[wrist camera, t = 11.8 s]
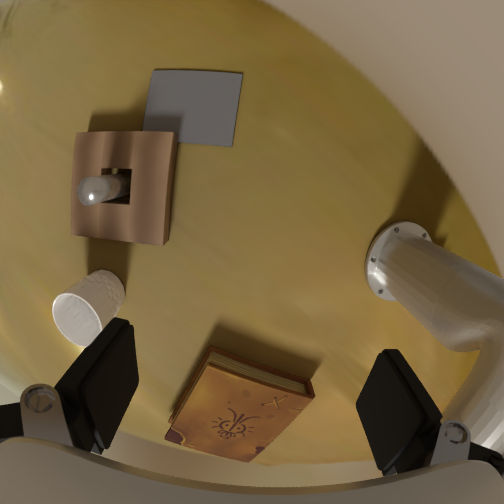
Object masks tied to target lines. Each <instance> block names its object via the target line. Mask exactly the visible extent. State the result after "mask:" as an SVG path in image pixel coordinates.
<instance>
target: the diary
mask: <svg viewBox="0 0 504 504" xmlns="http://www.w3.org/2000/svg"><path fill="white" fill-rule="evenodd" d="M314 397H315V393H314V390H313V387H312V383H311V381H310V380H309V379H305V378H302V377H299V376H296V375H292V374H289V373H286V372H283V371H280V370H277V369H274V368H271V367H268V366H265V365H262V364H259V363H257V362H254V361H251V360H248V359H245V358H243V357H240V356H237V355H235V354H232V353H230V352H227V351H224V350H222V349H219V348H217V347H214V346H212V345H210V347H209V349H208V351H207V352H206V354H205V356H204V358H203V360H202V361H201V363H200V365H199V367H198V369H197V371H196V372H195V374H194V376H193V378H192V380H191V381H190V383H189V385H188V387H187V389H186V391H185V392H184V394H183V396H182V398H181V400H180V401H179V403H178V405H177V407H176V409H175V410H174V412H173V414H172V416H171V418H170V419H169V423H171V427H170V429H169V430H168V432H167V434H166V435H165V440H168V441H170V442H173V443H176V444H179V445H182V446H185V447H189V448H192V449H195V450H199V451H202V452H206V453H209V454H213V455H217V456H221V457H225V458H229V459H233V460H238V461H243V462H248V463H249V462H250V461H251V460H253V459H254V458H255V457H256V456H257V455H258V454H259V453H260V452H261V451H262V450H264V449H265V448H266V447H267V446H268V445H269V444H270V443H271V442H272V441H273V440H274V439H275V438H276V437H277V436H278V435H279V434H280V433H281V432H282V431H283V430H284V429H285V428H286V427H287V426H288V425H289V424H290V423H291V422H292V421H293V420H294V419H295V418H296V417H297V416H298V415H299V414H300V413H301V412H302V411H303V409H304V408H305V407H306V406H307V405H308V404H309V403H310V402H311V401H312V400H313V398H314Z"/></svg>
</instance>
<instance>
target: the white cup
mask: <svg viewBox="0 0 504 504" xmlns="http://www.w3.org/2000/svg"><path fill="white" fill-rule="evenodd" d="M124 298H125V292H124V286H123V284H122V283H121V281H120V280H119V278H118V277H117V276H116V275H114V274H113V273H112V272H110V271H106V270H102V269H101V270H98V271H94V272H93V273H91V274H90V275H88V276H86V277H84V278H83V279H81V280H80V281H78V282H77V283H75V284H74V285H72V286H71V287H69V288H68V289H67V290H65V291H64V292H62V293H61V294H60V295H58V296H57V297H56V298H55V300H54V302H53V306H52V313H53V318H54V321H55V323H56V325H57V327H58V329H59V330H60V332H61V333H62V334H63V335H64V336H65V337H66V338H67V339H68V340H69V341H71V342H72V343H74V344H76V345H78V346H81V347H87V346H89V345H90V344H91V343H92V342H93V341H94V339H95V338H96V337H97V336H98V335H99V333H100V332H101V331H102V330H103V329H104V327H105V326H106V325H107V324H108V323H109V322H110V321H111V319H112V318H114V317H115V316H116V314H117V312H118V310H119V309H120V307H121V306H122V304H123V302H124Z"/></svg>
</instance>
